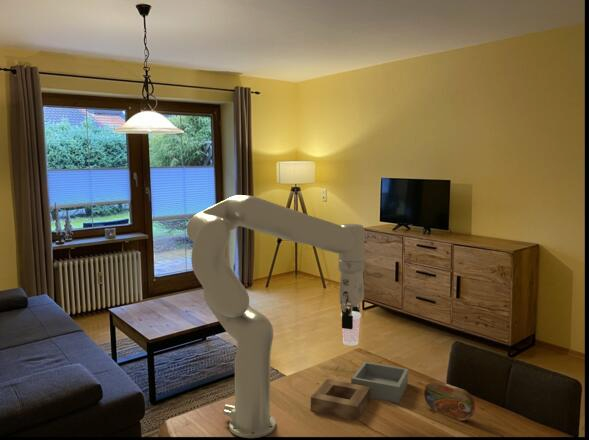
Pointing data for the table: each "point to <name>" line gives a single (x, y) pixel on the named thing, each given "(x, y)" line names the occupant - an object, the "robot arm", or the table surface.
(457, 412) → the tin
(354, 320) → the beverage cup
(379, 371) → the tray
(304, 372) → the table surface
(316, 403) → the holder block
